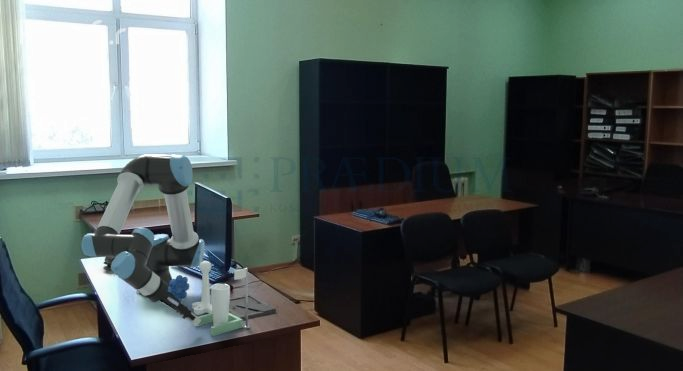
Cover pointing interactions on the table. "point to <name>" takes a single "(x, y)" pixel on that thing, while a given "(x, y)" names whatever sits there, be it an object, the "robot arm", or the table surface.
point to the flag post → (244, 274)
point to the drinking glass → (220, 303)
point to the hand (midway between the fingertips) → (198, 322)
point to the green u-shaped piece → (231, 325)
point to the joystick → (204, 291)
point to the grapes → (179, 287)
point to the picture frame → (249, 306)
